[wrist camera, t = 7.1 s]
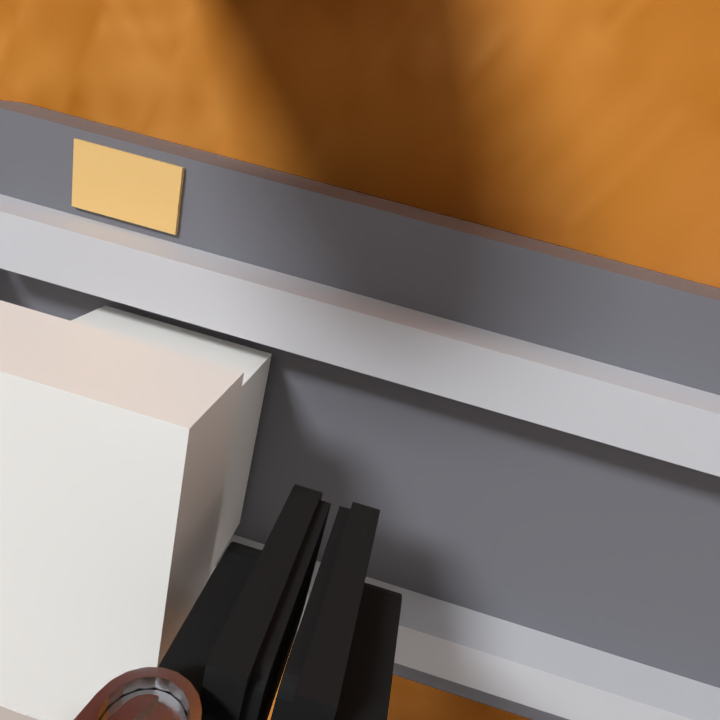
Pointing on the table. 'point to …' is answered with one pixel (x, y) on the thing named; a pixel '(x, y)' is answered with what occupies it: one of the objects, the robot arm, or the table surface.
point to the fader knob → (112, 492)
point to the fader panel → (425, 404)
